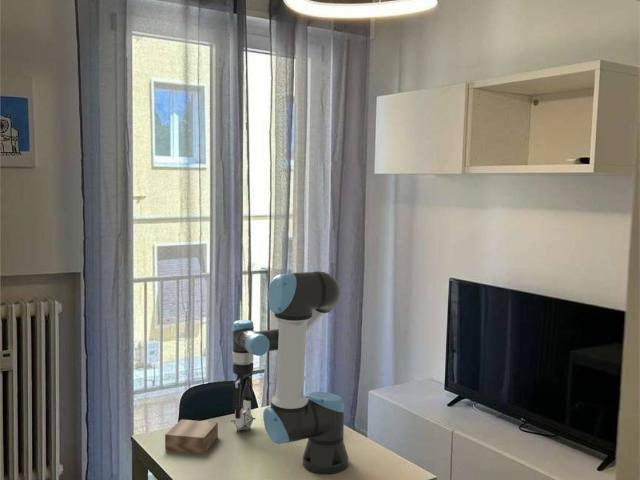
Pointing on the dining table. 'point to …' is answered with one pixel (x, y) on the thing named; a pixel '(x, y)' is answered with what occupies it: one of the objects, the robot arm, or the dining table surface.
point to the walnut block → (191, 436)
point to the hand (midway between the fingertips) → (243, 421)
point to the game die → (245, 420)
